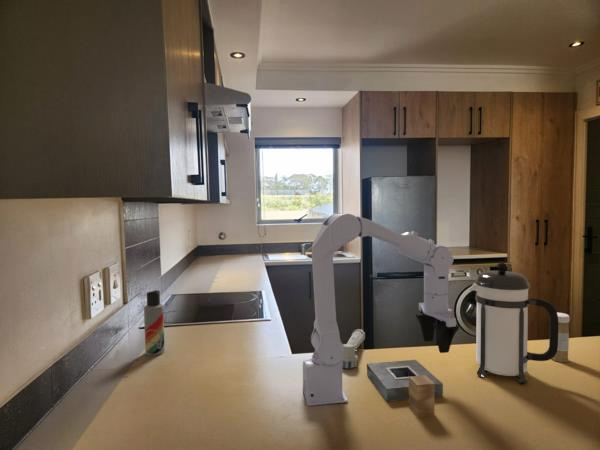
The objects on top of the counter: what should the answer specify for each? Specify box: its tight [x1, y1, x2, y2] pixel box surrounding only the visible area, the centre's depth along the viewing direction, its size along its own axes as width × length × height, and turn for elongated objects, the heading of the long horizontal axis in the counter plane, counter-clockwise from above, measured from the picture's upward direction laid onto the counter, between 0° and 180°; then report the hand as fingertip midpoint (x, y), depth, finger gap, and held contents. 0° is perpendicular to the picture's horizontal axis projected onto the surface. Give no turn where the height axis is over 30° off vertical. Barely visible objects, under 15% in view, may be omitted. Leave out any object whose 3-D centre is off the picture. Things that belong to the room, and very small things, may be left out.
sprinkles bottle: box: [551, 311, 571, 363], centre depth 106 cm, size 5×5×14 cm
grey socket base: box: [366, 359, 444, 402], centre depth 93 cm, size 14×14×3 cm
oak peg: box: [408, 375, 435, 418], centre depth 81 cm, size 4×4×7 cm
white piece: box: [342, 328, 366, 369], centre depth 113 cm, size 5×7×25 cm
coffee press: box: [469, 262, 558, 386], centre depth 97 cm, size 17×16×30 cm
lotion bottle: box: [143, 289, 166, 357], centre depth 116 cm, size 6×6×20 cm
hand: (435, 346), depth 91 cm, fingers open, 7 cm apart
